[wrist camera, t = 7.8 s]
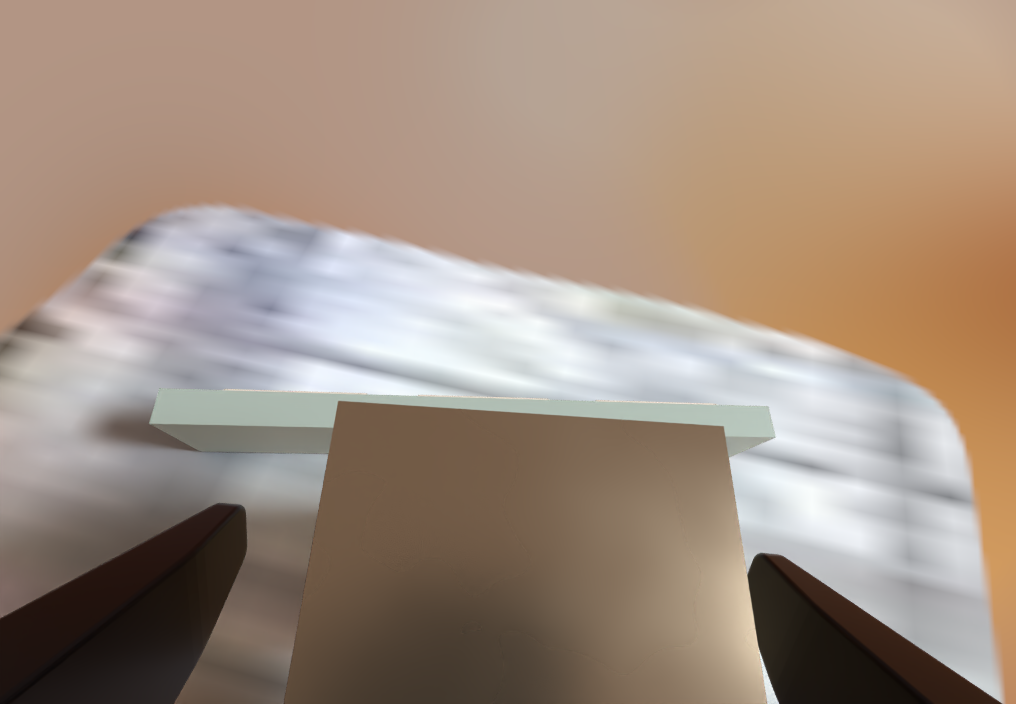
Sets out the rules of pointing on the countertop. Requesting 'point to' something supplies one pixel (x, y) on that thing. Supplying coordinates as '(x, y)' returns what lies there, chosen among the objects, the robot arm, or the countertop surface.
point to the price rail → (310, 415)
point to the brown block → (524, 564)
